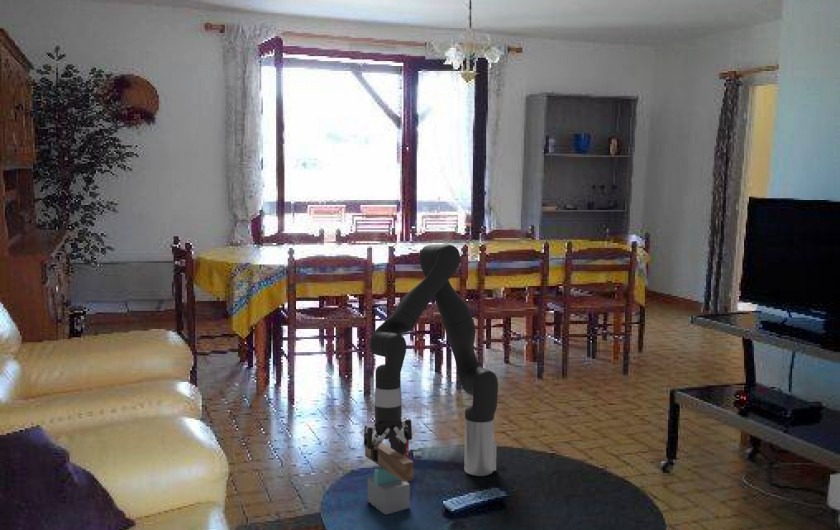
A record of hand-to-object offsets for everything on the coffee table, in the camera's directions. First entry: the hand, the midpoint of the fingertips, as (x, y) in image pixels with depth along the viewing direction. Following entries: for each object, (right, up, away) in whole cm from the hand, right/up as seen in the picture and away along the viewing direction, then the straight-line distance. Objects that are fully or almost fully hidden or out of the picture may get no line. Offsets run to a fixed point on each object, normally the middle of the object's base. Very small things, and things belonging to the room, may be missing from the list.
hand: (388, 458), depth 203 cm
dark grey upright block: (+2, -11, +27) cm, 29 cm away
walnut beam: (0, -3, 0) cm, 3 cm away
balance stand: (0, -14, +1) cm, 14 cm away
